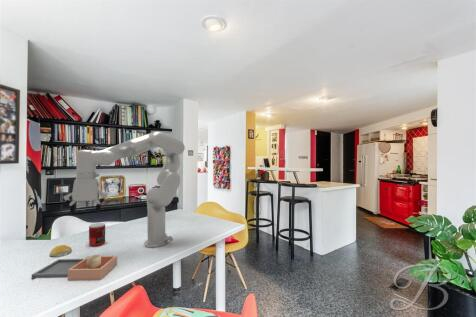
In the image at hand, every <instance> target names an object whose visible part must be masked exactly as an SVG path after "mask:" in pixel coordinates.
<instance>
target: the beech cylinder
mask: <svg viewBox="0 0 476 317" xmlns="http://www.w3.org/2000/svg"><path fill="white" fill-rule="evenodd" d="M89 256H90V257H88V256H87V257H88V258H87V269H100V268H101V256H102V255H100V254H93V255H89Z"/></svg>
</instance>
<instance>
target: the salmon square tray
mask: <svg viewBox="0 0 476 317" xmlns="http://www.w3.org/2000/svg"><path fill="white" fill-rule="evenodd" d="M90 256H91V255H89V256H87V257H85V258H83V259H84V260H82V261H81V262H79V263H78V264H76V265H75V266H73V267H72V268H70V269H69V270H68V277H67V281H96V280H97V281H101V280H102V279H103V278H104V277H105V276H106V275H108V274H109V273H110V272H111V271H112V270H113V269H114V268H115V267H116V266H117V265H118V256H117V255H101V268H100V269H87V258H88V257H90Z"/></svg>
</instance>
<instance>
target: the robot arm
mask: <svg viewBox="0 0 476 317" xmlns="http://www.w3.org/2000/svg"><path fill="white" fill-rule="evenodd" d="M156 148H159V149H162V151H163V154H164V157H165V161H164V163H163V166H162V168H161V169H160V172H159V174H158V175H157V177H156V182H157V184H158V185H159V186H160V187H152V188H150V189H149V190H148V191H147V192H146V197H145V198H146V199H145V200H146V208H147V240H146V241H145V242H144V246H145V247H147V248H159V247H163V246H166V245H167V244H168V243H169V242H172V241H173V240H174V239H173V236H168V234H167V233H166V207H167V206H169V205H170V204H171V202H172V201H173V200H174V197H175V195H176V192H177V190H178V188H179V187H180V184H181V175H180V174H179V173H178V170H179V167H180V166H181V165H180V164H181V159H180V155H181V154H183V153H184V151H185V143H183V141H181V140H180V139H178V138H176V137H173V136H172V135H169V134H167V133H165V132H162V131H155V132H150V133H147V134H144V135H141V136H138V137H135V138H131V139H129V140H125V141H124V142H120V143H119V144H116V145H113V146H110V147H107V148H104V149H101V150H92V149H80V150H79V149H78V150H77V152H76V172H75V173H76V176H75V177H76V179H74V182H73V187H72V192H70V193H67V194H65V195H63V198H62V199H64V200H65V203H66V204H68V205H69V207H70V208H69V212H70V213H71V215H75V214H76V210H77V209H76V208H77V205H76V203H77V202H92V201H94V202H95V203H96V205H95V209H96V210H95V214H98V213H99V212H100V211H101V208H102V205H101V204H102V203H103V202H104V201H105V200H106V199H107V197H108V194H107V193H105V192H102V191H100V184H99V179H98V178H99V177H100V173H97V165H99V166H104V167H105V166H106V167H107V166H110V165H112V164H114V162H116V161H118V160H120V159H121V160H122V159H124V158H129V157H133V156H138V155H141V154H142V153H145V152H147V151H151V150H154V149H156ZM100 196H102V198H101V199H100ZM70 197H71V199H72V200H71V199H70Z"/></svg>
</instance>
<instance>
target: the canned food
mask: <svg viewBox="0 0 476 317" xmlns="http://www.w3.org/2000/svg"><path fill="white" fill-rule="evenodd" d="M105 243H106V223H104V222H98V223H92V224H90V225H88V245H89V247H91V248H93V247H94V248H96V247H101V246H103V245H104V244H105Z"/></svg>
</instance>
